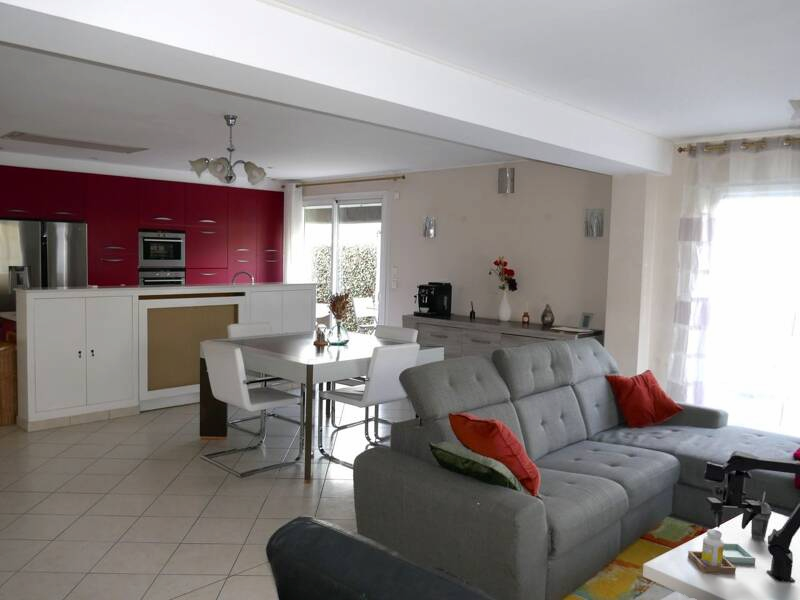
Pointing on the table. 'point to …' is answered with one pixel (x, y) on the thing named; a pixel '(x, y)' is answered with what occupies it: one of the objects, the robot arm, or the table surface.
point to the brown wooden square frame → (728, 568)
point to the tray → (737, 554)
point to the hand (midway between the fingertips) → (730, 527)
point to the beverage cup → (761, 521)
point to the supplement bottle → (712, 548)
